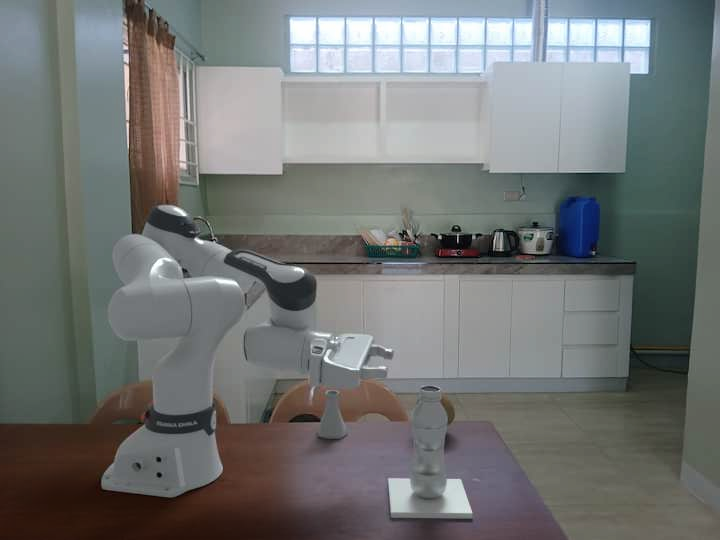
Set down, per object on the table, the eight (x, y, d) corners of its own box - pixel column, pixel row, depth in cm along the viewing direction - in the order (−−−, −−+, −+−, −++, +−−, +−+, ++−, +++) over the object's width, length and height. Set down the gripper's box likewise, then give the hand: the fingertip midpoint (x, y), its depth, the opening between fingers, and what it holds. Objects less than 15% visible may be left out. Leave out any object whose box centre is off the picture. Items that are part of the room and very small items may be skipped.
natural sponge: (437, 422, 142) (438, 383, 141) (462, 435, 134) (463, 393, 133) (407, 430, 137) (408, 389, 136) (432, 444, 130) (433, 401, 128)
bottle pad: (391, 517, 100) (391, 512, 100) (388, 483, 112) (388, 478, 112) (472, 518, 100) (472, 513, 100) (460, 483, 112) (460, 479, 112)
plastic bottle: (448, 503, 103) (452, 395, 100) (410, 503, 103) (412, 394, 100) (444, 485, 109) (447, 383, 107) (408, 485, 109) (410, 382, 107)
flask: (343, 441, 131) (344, 398, 129) (312, 438, 132) (312, 396, 131) (350, 428, 138) (350, 388, 136) (321, 426, 139) (321, 386, 138)
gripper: (332, 350, 126) (395, 358, 124) (307, 390, 107) (382, 400, 105) (333, 323, 125) (397, 331, 123) (309, 358, 105) (385, 368, 103)
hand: (390, 363), depth 113 cm, fingers open, 8 cm apart
